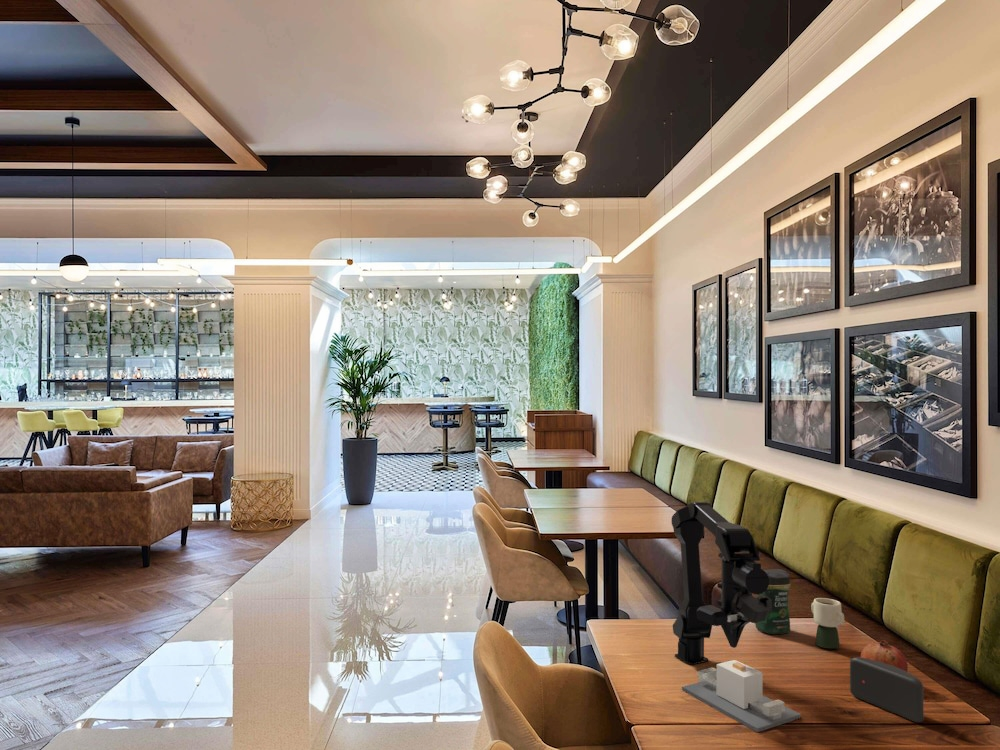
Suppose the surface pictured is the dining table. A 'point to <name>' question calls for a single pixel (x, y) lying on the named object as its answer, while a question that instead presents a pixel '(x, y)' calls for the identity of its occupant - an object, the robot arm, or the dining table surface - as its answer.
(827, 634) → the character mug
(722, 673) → the block
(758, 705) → the DIN rail
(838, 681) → the dining table surface
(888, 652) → the fruit
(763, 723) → the mounting plate
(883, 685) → the dark grey smartphone
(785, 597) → the coffee jar
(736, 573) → the robot arm
